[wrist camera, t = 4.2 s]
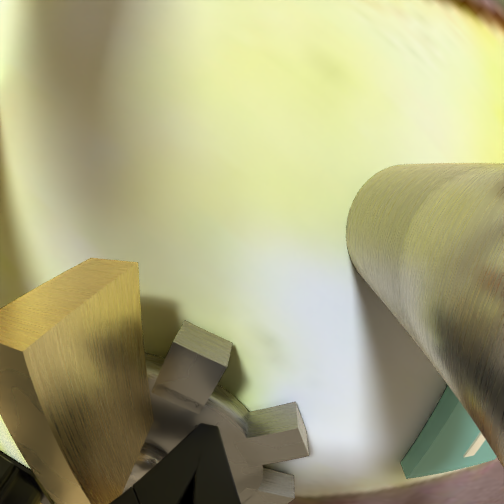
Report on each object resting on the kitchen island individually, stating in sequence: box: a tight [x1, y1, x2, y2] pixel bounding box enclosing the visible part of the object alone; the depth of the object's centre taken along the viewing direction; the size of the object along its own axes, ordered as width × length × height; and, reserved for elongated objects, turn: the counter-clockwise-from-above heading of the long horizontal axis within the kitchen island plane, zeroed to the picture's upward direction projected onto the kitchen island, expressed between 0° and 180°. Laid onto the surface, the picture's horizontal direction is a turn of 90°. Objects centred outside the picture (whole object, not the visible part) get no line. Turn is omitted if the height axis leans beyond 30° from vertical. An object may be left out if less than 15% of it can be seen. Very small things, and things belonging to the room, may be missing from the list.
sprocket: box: [0, 258, 309, 504], centre depth 9 cm, size 16×13×6 cm
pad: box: [401, 386, 497, 479], centre depth 11 cm, size 7×7×1 cm
